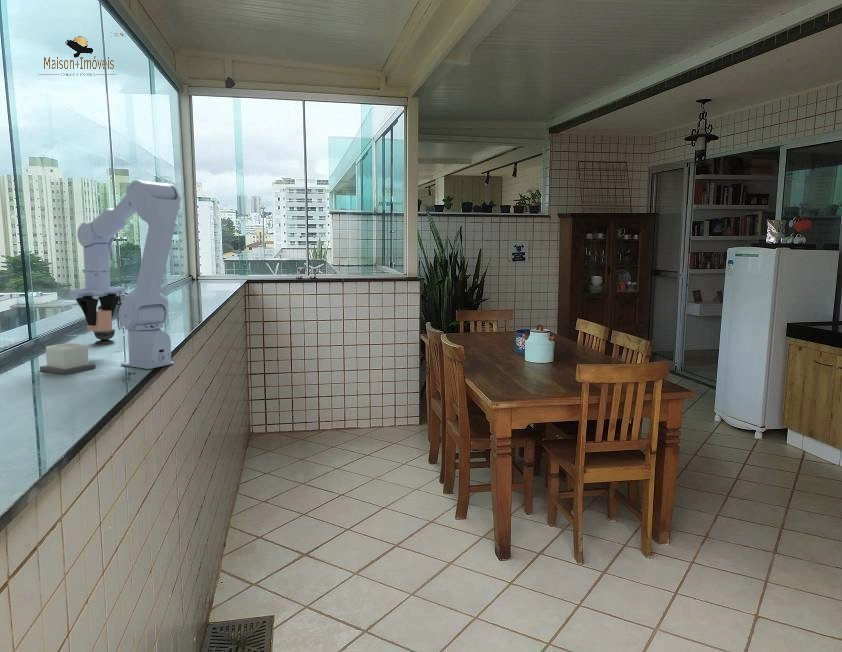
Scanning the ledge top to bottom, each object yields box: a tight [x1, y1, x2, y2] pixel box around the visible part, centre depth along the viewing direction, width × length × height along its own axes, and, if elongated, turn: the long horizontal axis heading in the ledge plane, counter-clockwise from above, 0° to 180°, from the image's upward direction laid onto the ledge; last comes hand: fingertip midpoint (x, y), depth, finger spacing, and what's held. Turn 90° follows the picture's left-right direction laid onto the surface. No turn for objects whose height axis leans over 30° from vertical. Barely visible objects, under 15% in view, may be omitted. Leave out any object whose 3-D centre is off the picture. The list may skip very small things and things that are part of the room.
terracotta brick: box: [86, 309, 113, 332], centre depth 158 cm, size 4×4×5 cm
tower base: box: [39, 342, 97, 376], centre depth 142 cm, size 8×8×6 cm
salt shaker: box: [92, 304, 116, 345], centre depth 177 cm, size 6×6×12 cm
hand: (99, 324), depth 158 cm, fingers closed on terracotta brick, 4 cm apart
